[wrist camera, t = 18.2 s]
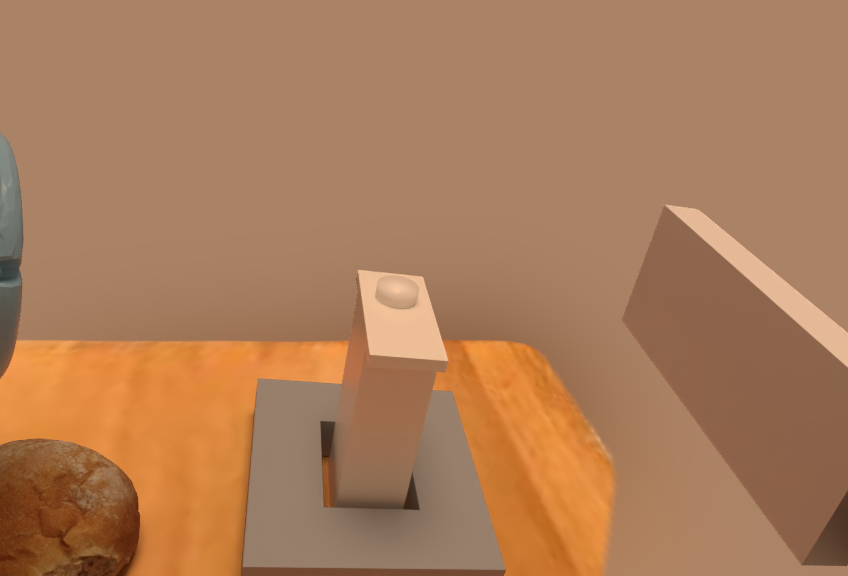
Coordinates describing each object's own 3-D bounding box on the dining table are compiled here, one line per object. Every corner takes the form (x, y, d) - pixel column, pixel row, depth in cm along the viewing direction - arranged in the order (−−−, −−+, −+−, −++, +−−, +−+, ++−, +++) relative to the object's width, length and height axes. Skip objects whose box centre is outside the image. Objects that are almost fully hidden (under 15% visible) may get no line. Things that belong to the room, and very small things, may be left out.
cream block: (331, 555, 42) (372, 341, 35) (327, 449, 50) (359, 257, 43) (399, 556, 43) (451, 347, 36) (384, 452, 51) (425, 265, 44)
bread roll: (147, 557, 44) (161, 426, 44) (109, 651, 34) (126, 482, 33) (-33, 551, 42) (-20, 415, 42) (-131, 649, 32) (-115, 470, 31)
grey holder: (238, 606, 38) (242, 566, 37) (254, 412, 52) (257, 378, 50) (492, 606, 41) (505, 569, 40) (444, 423, 55) (452, 391, 53)
